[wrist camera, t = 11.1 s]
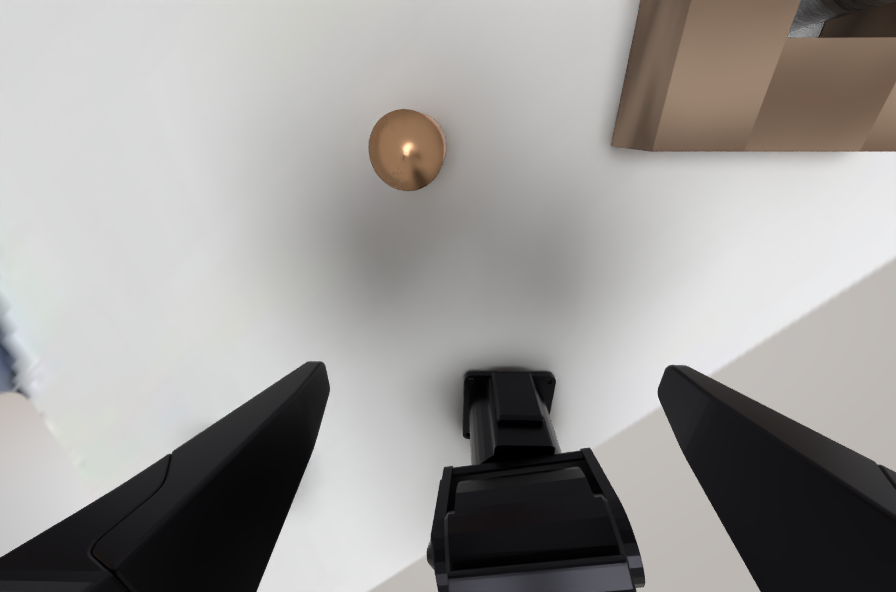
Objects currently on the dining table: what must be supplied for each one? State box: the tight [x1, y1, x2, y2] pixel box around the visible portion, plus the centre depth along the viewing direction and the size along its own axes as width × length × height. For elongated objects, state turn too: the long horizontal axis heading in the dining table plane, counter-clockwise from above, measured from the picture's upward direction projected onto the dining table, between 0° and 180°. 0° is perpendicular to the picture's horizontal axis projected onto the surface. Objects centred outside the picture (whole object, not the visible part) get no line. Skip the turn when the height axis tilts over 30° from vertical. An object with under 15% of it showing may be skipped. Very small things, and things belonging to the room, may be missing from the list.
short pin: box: [369, 109, 446, 191], centre depth 15 cm, size 3×3×4 cm
